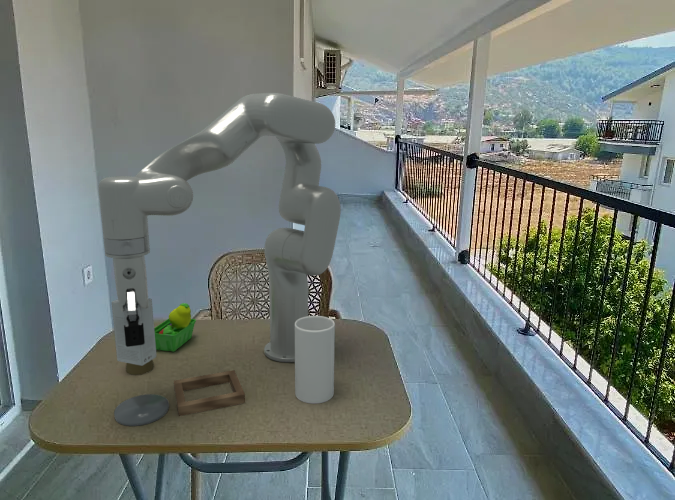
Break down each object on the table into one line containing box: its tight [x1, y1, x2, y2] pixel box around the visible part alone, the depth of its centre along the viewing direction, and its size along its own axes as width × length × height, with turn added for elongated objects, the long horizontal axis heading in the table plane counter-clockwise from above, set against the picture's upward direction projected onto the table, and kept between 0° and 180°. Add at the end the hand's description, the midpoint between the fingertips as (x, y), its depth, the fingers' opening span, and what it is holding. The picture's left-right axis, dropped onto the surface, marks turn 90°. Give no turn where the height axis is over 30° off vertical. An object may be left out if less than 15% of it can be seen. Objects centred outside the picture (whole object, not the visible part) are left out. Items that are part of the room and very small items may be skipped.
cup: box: [294, 315, 336, 404], centre depth 101 cm, size 8×8×16 cm
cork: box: [125, 359, 155, 376], centre depth 111 cm, size 6×6×11 cm
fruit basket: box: [154, 302, 197, 352], centre depth 124 cm, size 11×9×11 cm
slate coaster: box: [113, 393, 170, 427], centre depth 95 cm, size 10×10×1 cm
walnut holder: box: [173, 369, 246, 417], centre depth 101 cm, size 13×11×2 cm
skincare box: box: [111, 298, 157, 366], centre depth 91 cm, size 6×4×12 cm
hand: (135, 336), depth 92 cm, fingers closed on skincare box, 7 cm apart
